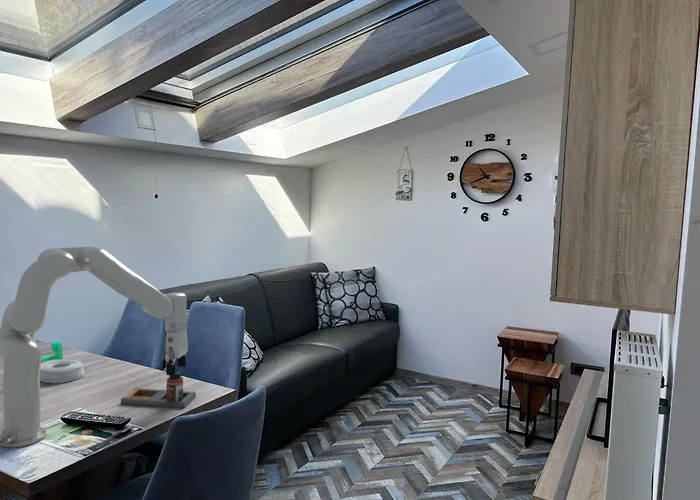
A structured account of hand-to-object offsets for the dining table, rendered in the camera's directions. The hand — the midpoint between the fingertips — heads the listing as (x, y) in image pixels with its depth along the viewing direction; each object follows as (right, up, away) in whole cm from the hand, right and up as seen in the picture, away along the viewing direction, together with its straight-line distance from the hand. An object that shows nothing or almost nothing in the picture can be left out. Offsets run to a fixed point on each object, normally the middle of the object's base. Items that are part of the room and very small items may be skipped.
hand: (176, 370), depth 187 cm
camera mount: (-70, -7, +38) cm, 80 cm away
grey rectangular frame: (-7, -12, +1) cm, 13 cm away
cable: (-56, -9, +22) cm, 61 cm away
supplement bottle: (-1, -12, +1) cm, 12 cm away
